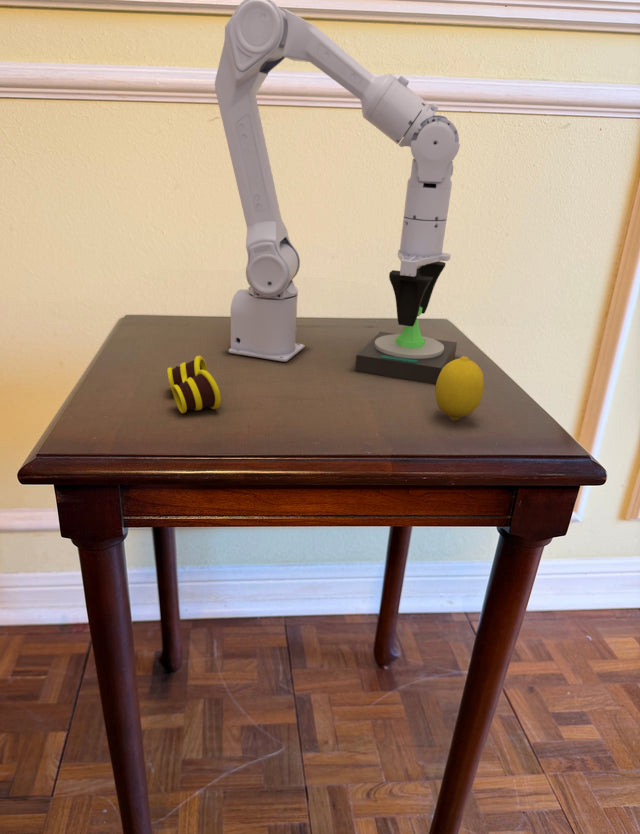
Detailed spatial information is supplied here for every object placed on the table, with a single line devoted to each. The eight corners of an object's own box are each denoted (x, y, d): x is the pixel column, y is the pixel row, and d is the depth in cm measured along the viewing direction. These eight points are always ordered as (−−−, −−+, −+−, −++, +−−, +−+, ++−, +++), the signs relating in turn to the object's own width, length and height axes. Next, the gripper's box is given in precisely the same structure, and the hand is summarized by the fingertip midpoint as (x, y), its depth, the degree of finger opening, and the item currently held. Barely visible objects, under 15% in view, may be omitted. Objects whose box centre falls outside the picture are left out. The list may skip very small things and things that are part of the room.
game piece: (421, 339, 102) (427, 299, 99) (427, 348, 98) (433, 307, 95) (392, 339, 101) (397, 298, 98) (397, 348, 98) (402, 306, 95)
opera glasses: (171, 394, 89) (162, 359, 87) (210, 384, 90) (202, 349, 88) (182, 424, 81) (171, 386, 79) (224, 413, 82) (216, 375, 79)
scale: (355, 371, 97) (356, 350, 96) (378, 346, 108) (380, 327, 107) (438, 384, 94) (442, 363, 92) (454, 357, 104) (457, 338, 103)
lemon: (478, 431, 80) (490, 366, 76) (430, 426, 81) (440, 361, 77) (476, 413, 85) (487, 351, 81) (431, 409, 86) (440, 347, 82)
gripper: (445, 227, 84) (429, 335, 91) (463, 214, 96) (448, 310, 102) (389, 222, 86) (378, 328, 93) (414, 210, 98) (402, 304, 105)
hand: (412, 318), depth 98 cm, fingers open, 7 cm apart
